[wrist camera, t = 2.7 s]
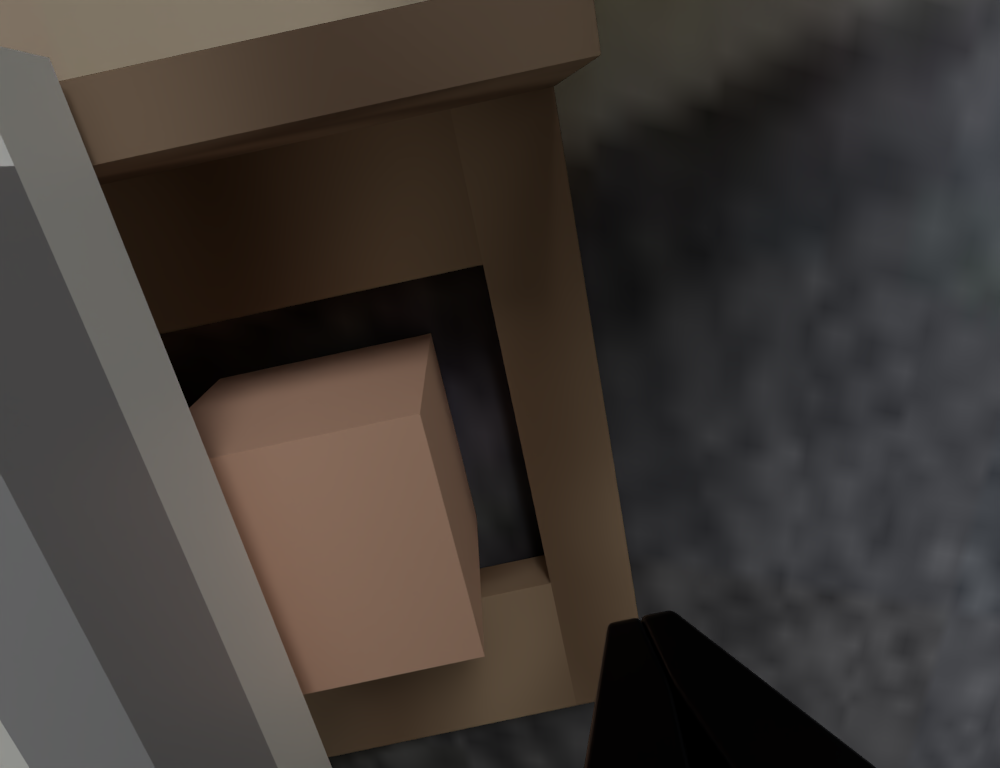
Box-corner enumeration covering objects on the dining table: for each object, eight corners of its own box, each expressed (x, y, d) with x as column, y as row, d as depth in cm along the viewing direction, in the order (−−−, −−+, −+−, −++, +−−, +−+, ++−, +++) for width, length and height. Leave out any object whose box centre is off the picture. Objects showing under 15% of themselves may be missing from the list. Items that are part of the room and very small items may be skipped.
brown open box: (536, 38, 13) (589, -35, 8) (637, 657, 19) (708, 852, 13) (-425, 248, 13) (-985, 310, 8) (-46, 800, 19) (-237, 1048, 14)
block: (431, 332, 15) (420, 413, 10) (476, 515, 17) (484, 656, 12) (220, 377, 15) (116, 478, 11) (287, 556, 17) (222, 711, 12)
